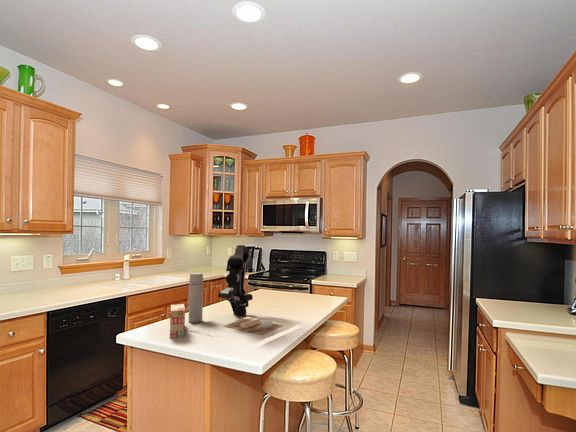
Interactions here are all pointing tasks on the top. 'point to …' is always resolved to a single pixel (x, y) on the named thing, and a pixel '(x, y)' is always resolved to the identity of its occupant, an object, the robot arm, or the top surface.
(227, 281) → the robot arm
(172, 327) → the stack of blocks
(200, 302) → the water bottle
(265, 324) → the bench dog
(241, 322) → the birch plate
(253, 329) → the bench board
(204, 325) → the top surface
